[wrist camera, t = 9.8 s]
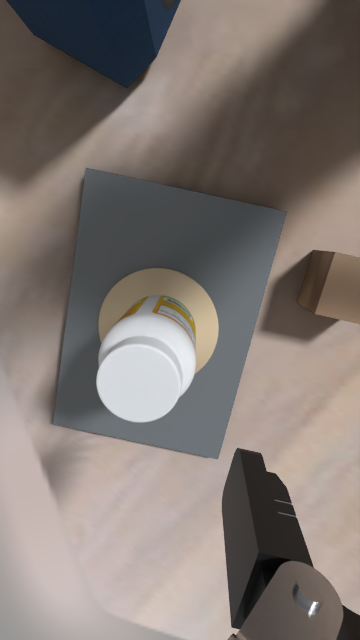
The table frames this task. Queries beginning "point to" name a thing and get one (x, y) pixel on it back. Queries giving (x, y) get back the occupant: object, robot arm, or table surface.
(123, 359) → the supplement bottle
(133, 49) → the radio
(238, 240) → the slate board
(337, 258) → the walnut block
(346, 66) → the table surface
